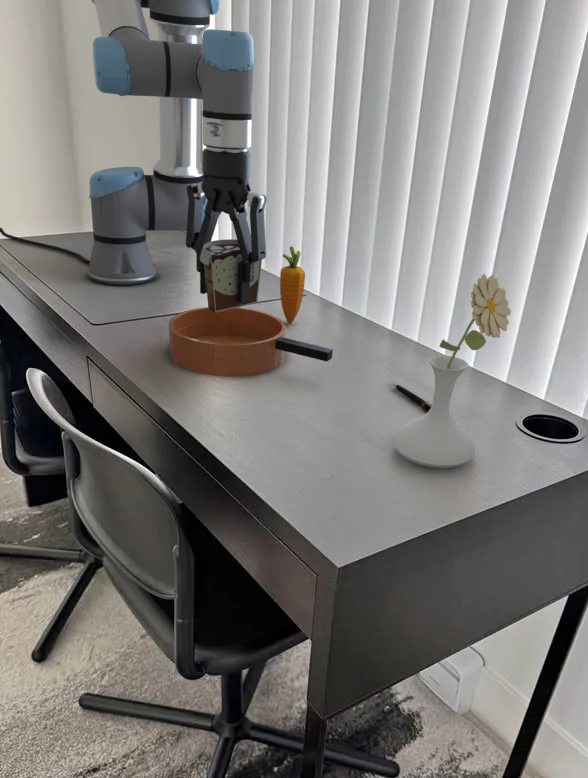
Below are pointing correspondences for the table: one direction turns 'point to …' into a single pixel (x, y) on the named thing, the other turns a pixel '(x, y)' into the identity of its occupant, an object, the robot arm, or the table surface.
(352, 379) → the table surface
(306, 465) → the table surface
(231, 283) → the food container
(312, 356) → the pan handle
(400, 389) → the fountain pen
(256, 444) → the table surface
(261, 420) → the table surface
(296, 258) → the carrot
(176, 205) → the robot arm
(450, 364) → the flower in vase
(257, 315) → the pan
